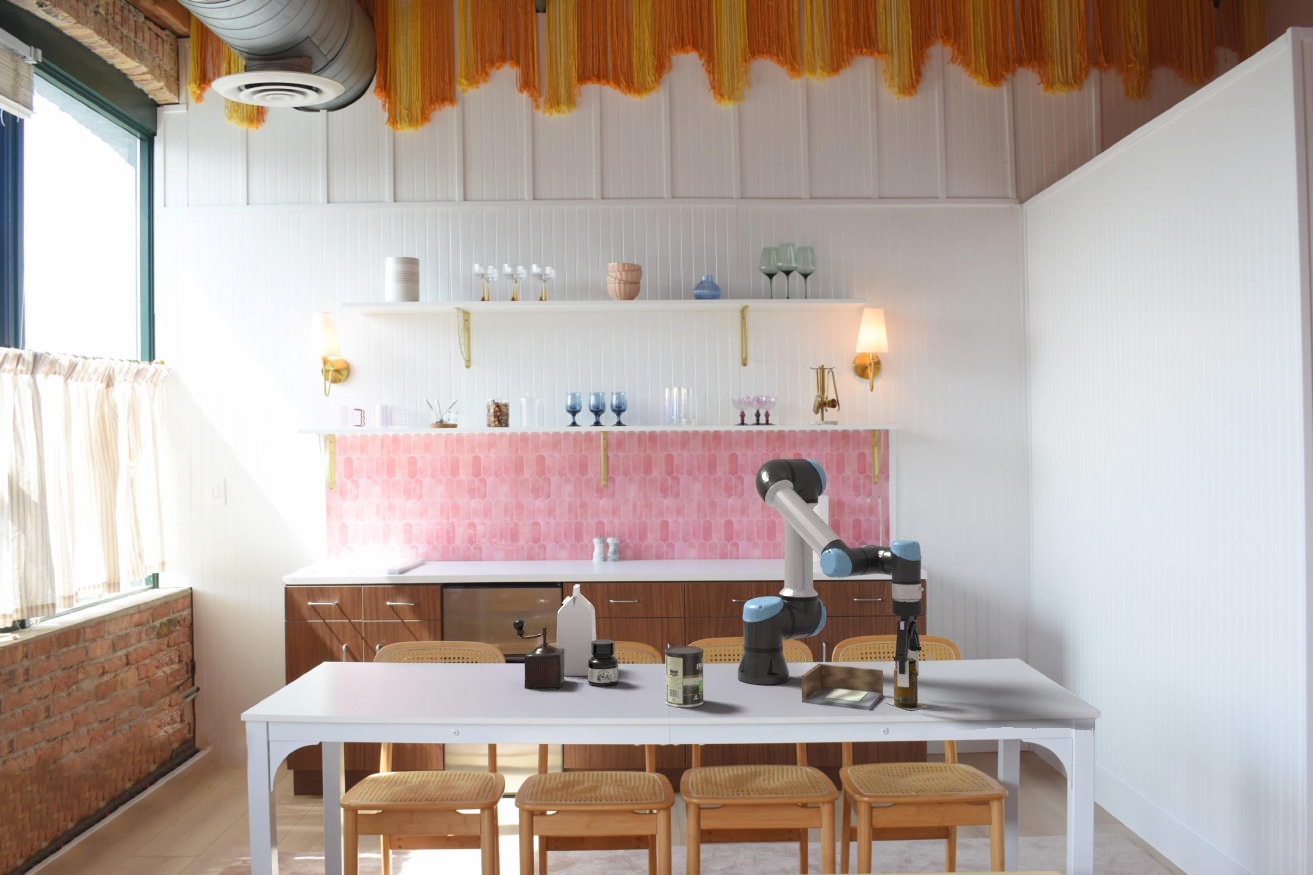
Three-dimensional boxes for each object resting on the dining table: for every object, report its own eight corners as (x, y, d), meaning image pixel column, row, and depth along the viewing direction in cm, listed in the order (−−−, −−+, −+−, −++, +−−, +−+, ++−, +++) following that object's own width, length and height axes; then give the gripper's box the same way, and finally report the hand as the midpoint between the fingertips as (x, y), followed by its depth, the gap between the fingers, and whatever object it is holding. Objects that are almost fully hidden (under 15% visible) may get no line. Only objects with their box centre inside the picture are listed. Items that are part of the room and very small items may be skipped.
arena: (801, 702, 245) (801, 675, 245) (819, 688, 259) (818, 663, 259) (869, 710, 237) (869, 682, 237) (883, 695, 251) (882, 669, 251)
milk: (593, 675, 276) (593, 588, 276) (555, 675, 276) (555, 588, 277) (597, 666, 288) (597, 583, 288) (560, 666, 288) (560, 583, 289)
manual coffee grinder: (565, 679, 271) (565, 618, 271) (560, 689, 260) (560, 625, 260) (513, 679, 272) (513, 618, 272) (505, 688, 261) (505, 624, 261)
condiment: (906, 700, 247) (905, 655, 247) (929, 707, 239) (929, 661, 240) (886, 703, 243) (885, 658, 244) (909, 711, 236) (908, 664, 236)
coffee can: (705, 698, 249) (705, 646, 249) (701, 708, 239) (700, 654, 239) (668, 696, 251) (668, 644, 251) (662, 707, 241) (661, 652, 241)
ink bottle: (585, 687, 262) (584, 644, 262) (587, 679, 271) (587, 638, 271) (619, 687, 262) (619, 644, 262) (620, 679, 271) (620, 638, 271)
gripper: (912, 606, 229) (913, 692, 228) (929, 594, 251) (931, 672, 251) (881, 605, 232) (883, 689, 232) (902, 592, 255) (903, 670, 254)
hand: (908, 680), depth 241 cm, fingers open, 13 cm apart
